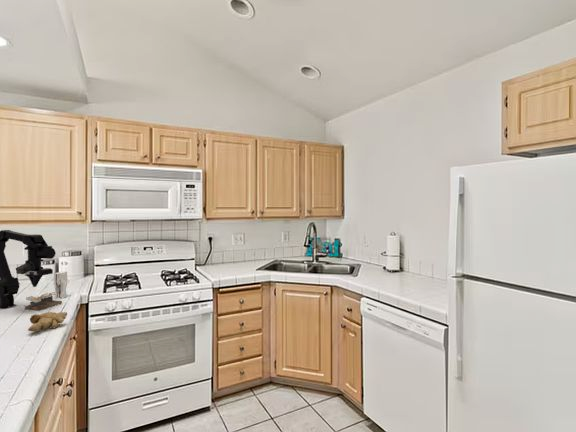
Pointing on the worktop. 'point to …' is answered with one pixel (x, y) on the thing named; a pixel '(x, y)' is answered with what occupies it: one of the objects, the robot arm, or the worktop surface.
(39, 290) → the worktop surface
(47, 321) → the ginger root
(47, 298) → the switch unit
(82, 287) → the worktop surface
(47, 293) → the middle rocker
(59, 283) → the beer glass
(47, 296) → the far rocker
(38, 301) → the near rocker
